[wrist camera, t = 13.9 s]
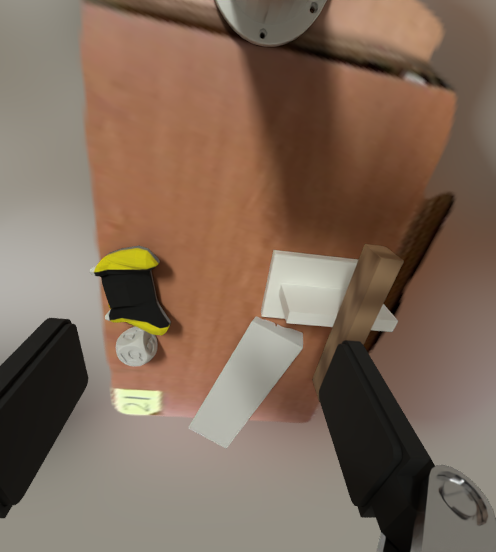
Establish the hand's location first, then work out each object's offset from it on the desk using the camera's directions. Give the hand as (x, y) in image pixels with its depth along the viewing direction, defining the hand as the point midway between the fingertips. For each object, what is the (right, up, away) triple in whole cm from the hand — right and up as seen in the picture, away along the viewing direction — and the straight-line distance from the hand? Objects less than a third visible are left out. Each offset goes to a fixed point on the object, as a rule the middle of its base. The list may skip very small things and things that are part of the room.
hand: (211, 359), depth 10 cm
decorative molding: (0, -19, +46) cm, 50 cm away
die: (-18, -8, +39) cm, 43 cm away
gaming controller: (-16, +2, +33) cm, 37 cm away
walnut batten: (+15, -4, +27) cm, 31 cm away
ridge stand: (+14, +1, +35) cm, 38 cm away
